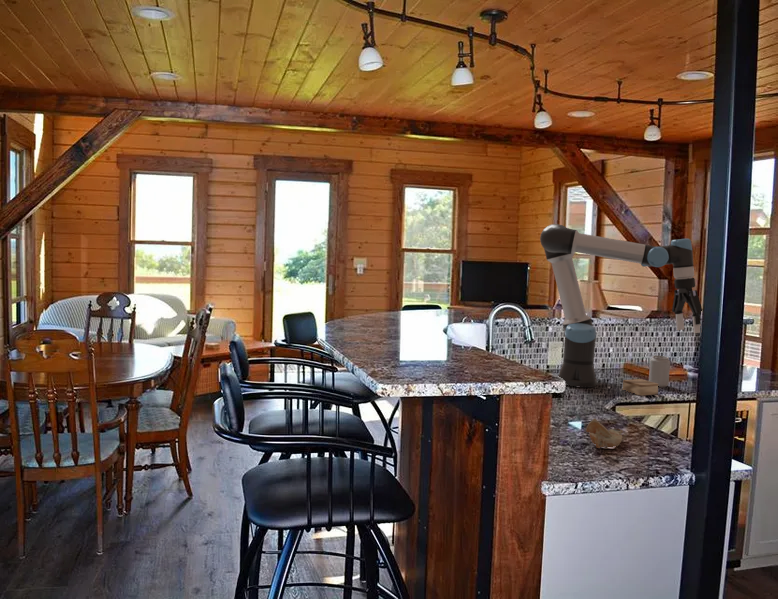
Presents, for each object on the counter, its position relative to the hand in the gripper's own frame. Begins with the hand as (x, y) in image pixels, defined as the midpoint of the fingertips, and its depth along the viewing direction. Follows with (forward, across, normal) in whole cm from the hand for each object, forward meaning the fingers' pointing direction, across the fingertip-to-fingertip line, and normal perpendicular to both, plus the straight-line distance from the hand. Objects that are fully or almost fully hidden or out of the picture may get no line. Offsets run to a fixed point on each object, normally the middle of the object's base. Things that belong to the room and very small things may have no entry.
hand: (688, 331), depth 279 cm
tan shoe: (+18, -80, +67) cm, 105 cm away
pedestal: (+20, -8, +26) cm, 33 cm away
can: (+21, +5, +12) cm, 25 cm away
